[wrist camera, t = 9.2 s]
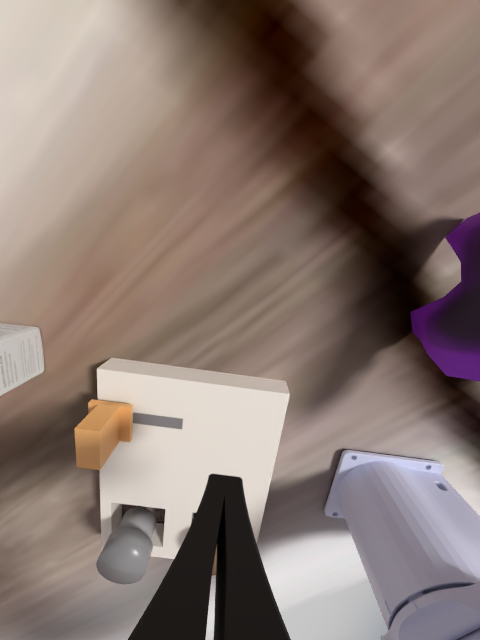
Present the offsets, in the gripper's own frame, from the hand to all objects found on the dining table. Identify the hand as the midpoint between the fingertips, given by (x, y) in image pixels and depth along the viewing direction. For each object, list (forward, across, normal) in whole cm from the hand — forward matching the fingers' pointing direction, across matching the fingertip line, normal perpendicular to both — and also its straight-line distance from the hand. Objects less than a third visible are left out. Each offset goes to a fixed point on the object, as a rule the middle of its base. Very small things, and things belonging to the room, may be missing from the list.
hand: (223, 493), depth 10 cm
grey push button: (+9, +7, +16) cm, 20 cm away
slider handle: (+8, +9, +4) cm, 13 cm away
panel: (+10, +3, +10) cm, 15 cm away
